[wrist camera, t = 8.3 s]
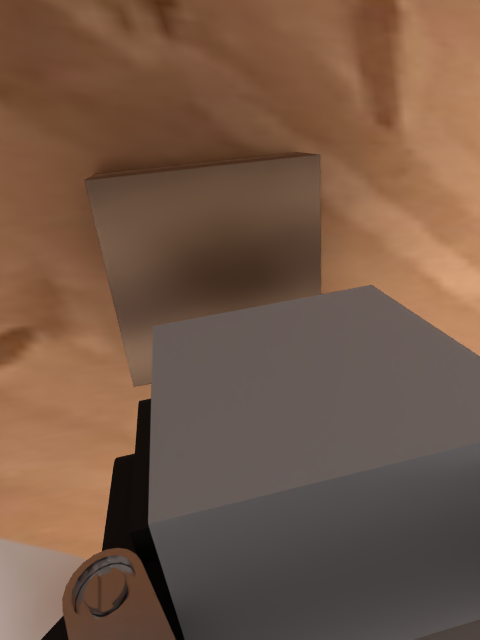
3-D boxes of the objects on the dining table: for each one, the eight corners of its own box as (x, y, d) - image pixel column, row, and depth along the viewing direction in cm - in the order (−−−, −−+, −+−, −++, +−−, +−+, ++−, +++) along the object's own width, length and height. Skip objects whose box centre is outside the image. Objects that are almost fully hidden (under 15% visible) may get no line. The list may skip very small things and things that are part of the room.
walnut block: (95, 173, 21) (84, 180, 18) (294, 151, 23) (320, 154, 19) (136, 352, 26) (133, 386, 23) (299, 325, 28) (321, 353, 24)
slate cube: (153, 326, 10) (148, 523, 5) (371, 285, 11) (574, 418, 6) (193, 494, 13) (218, 746, 8) (369, 451, 14) (508, 654, 8)
